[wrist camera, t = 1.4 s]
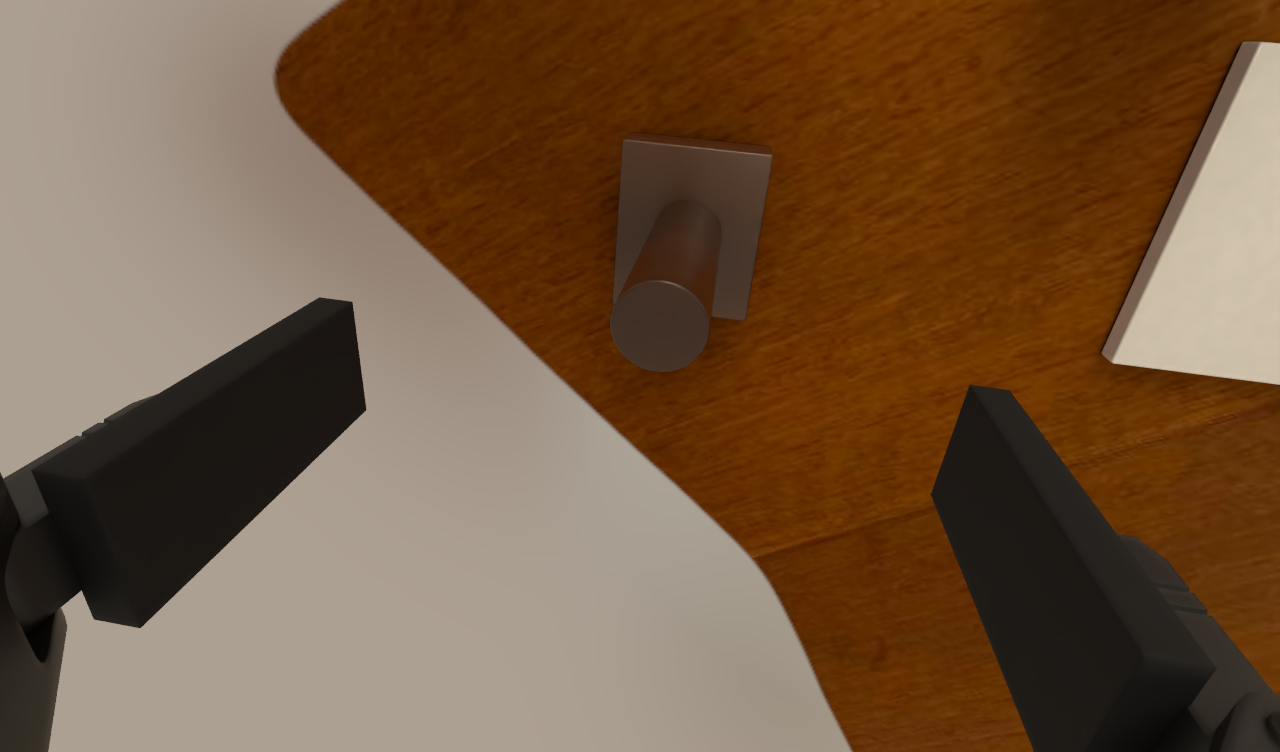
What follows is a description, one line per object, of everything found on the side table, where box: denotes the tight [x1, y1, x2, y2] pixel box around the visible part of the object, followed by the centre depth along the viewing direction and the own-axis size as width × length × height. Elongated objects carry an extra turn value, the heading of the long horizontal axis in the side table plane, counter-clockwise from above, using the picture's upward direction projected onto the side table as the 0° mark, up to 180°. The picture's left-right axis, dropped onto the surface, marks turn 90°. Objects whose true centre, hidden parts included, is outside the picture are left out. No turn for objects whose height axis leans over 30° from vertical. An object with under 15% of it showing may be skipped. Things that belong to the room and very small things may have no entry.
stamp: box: [610, 132, 773, 372], centre depth 23 cm, size 6×5×12 cm
